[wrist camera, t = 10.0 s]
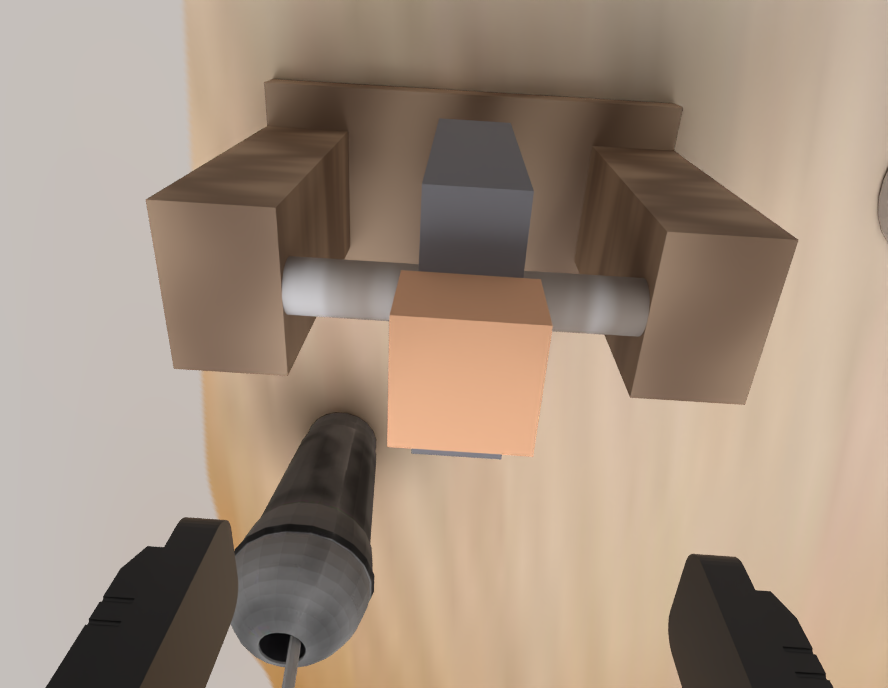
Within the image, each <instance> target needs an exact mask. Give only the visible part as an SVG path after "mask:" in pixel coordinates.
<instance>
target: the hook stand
mask: <svg viewBox="0 0 888 688" xmlns="http://www.w3.org/2000/svg"><path fill="white" fill-rule="evenodd" d="M264 85H265V99H266V113H267V127H265V128H263V129H262V130H260V131H258V132H257V133H255V134H253V135H252V136H250V137H248V138H247V139H245V140H243V141H242V142H240V143H238V144H237V145H235V146H234V147H232V148H230V149H229V150H227V151H225V152H224V153H222V154H220V155H219V156H217V157H215V158H214V159H212V160H210V161H209V162H207V163H205V164H204V165H202V166H200V167H199V168H197V169H196V170H194V171H192V172H191V173H189V174H187V175H186V176H184V177H183V178H181V179H179V180H177V181H176V182H174V183H172V184H171V185H169V186H167V187H166V188H164V189H162V190H161V191H159V192H157V193H156V194H154V195H153V196H151V197H149V198H148V199H146V204H147V210H148V216H149V222H150V228H151V234H152V240H153V246H154V252H155V258H156V264H157V270H158V276H159V283H160V289H161V295H162V301H163V307H164V313H165V318H166V325H167V331H168V336H169V342H170V349H171V355H172V360H173V366H174V369H187V370H203V371H219V372H235V373H250V374H266V375H282V376H288V374H289V372H290V370H291V368H292V366H293V364H294V362H295V360H296V358H297V356H298V354H299V351H300V349H301V347H302V345H303V343H304V341H305V339H306V337H307V335H308V333H309V331H310V329H311V327H312V325H313V323H314V321H315V319H316V317H332V318H348V319H364V320H380V321H389V316H390V311H391V307H392V303H393V300H394V296H395V292H396V288H397V284H398V280H399V276H400V272H401V270H407V271H419V246H420V221H421V196H422V182H423V178H424V174H425V170H426V167H427V163H428V159H429V155H430V151H431V148H432V144H433V140H434V136H435V132H436V129H437V125H438V121H439V118H441V119H457V120H472V121H488V122H504V123H511V125H512V128H513V131H514V134H515V137H516V140H517V143H518V146H519V149H520V152H521V155H522V157H523V160H524V163H525V166H526V169H527V172H528V175H529V178H530V181H531V184H532V187H533V190H534V195H533V203H532V211H531V219H530V228H529V236H528V244H527V252H526V260H525V268H524V277H523V278H530V279H541V282H542V286H543V290H544V294H545V297H546V301H547V305H548V309H549V313H550V317H551V321H552V325H553V328H552V331H556V332H572V333H588V334H604V335H605V337H606V340H607V342H608V344H609V347H610V349H611V352H612V354H613V357H614V359H615V362H616V364H617V366H618V369H619V371H620V374H621V376H622V379H623V381H624V383H625V386H626V388H627V391H628V393H629V396H630V398H646V399H662V400H678V401H694V402H709V403H725V404H741V405H745V403H746V400H747V397H748V394H749V391H750V388H751V384H752V381H753V378H754V375H755V372H756V369H757V366H758V363H759V360H760V357H761V354H762V351H763V347H764V344H765V341H766V338H767V335H768V332H769V329H770V326H771V323H772V320H773V317H774V314H775V310H776V307H777V304H778V301H779V298H780V295H781V292H782V289H783V286H784V283H785V280H786V277H787V273H788V270H789V267H790V264H791V261H792V258H793V255H794V252H795V249H796V246H797V243H798V239H796V238H795V237H794V236H792V235H791V234H789V233H788V232H787V231H785V230H784V229H782V228H781V227H780V226H778V225H777V224H775V223H774V222H773V221H771V220H770V219H768V218H767V217H766V216H764V215H763V214H761V213H760V212H759V211H757V210H756V209H754V208H753V207H752V206H750V205H749V204H747V203H746V202H745V201H743V200H742V199H740V198H739V197H738V196H736V195H735V194H733V193H732V192H731V191H729V190H728V189H726V188H725V187H724V186H722V185H721V184H720V183H718V182H717V181H715V180H714V179H713V178H711V177H710V176H708V175H707V174H706V173H704V172H703V171H701V170H700V169H699V168H697V167H696V166H694V165H693V164H692V163H690V162H689V161H687V160H686V159H685V158H683V157H682V156H680V155H679V154H678V153H676V152H675V151H674V147H675V143H676V138H677V134H678V129H679V124H680V120H681V115H682V110H683V108H682V107H680V106H678V105H676V104H674V103H657V102H641V101H625V100H608V99H592V98H575V97H559V96H542V95H526V94H509V93H493V92H476V91H460V90H443V89H427V88H410V87H394V86H377V85H361V84H344V83H328V82H311V81H295V80H279V79H272V80H269V81H267V82H264Z"/></svg>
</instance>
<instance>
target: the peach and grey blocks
mask: <svg viewBox="0 0 888 688" xmlns="http://www.w3.org/2000/svg"><path fill="white" fill-rule="evenodd" d="M533 195H534V190H533V187H532V184H531V181H530V178H529V175H528V172H527V169H526V166H525V163H524V160H523V157H522V155H521V152H520V149H519V146H518V143H517V140H516V137H515V134H514V131H513V128H512V125H511V123H504V122H488V121H472V120H457V119H441V118H439V121H438V125H437V129H436V132H435V136H434V140H433V144H432V148H431V151H430V155H429V159H428V163H427V167H426V170H425V174H424V178H423V182H422V196H421V221H420V246H419V271H407V270H401V272H400V276H399V280H398V284H397V288H396V292H395V296H394V300H393V303H392V307H391V311H390V316H389V373H388V430H387V447H396V448H411V453H413V454H428V455H443V456H458V457H473V458H488V459H501V457H502V455H516V456H531V457H533V454H534V447H535V440H536V434H537V427H538V420H539V414H540V407H541V401H542V394H543V387H544V381H545V374H546V368H547V361H548V354H549V348H550V341H551V335H552V328H553V325H552V321H551V317H550V313H549V309H548V305H547V301H546V297H545V294H544V290H543V286H542V282H541V279H530V278H523V277H524V268H525V260H526V252H527V244H528V236H529V228H530V219H531V211H532V203H533Z"/></svg>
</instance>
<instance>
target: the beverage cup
mask: <svg viewBox="0 0 888 688" xmlns="http://www.w3.org/2000/svg"><path fill="white" fill-rule="evenodd" d="M375 450H376V438H375V435H374V432H373V430H372V429H371V428H370V427H369V425H368V424H367V423H366V422H364V421H363V420H361V419H360V418H358V417H356V416H353V415H350V414H347V413H332V414H327V415H325V416H323V417H321V418H319V419H317V420H316V422H315V423H314V424H313V425H312V426H311V428H310V431H309V432H308V434H307V435H306V437H305V438H304V439H303V440H302V442H301V444H300V446H299V448H298V450H297V451H296V453H295V455H294V457H293V459H292V461H291V463H290V464H289V466H288V468H287V470H286V472H285V474H284V476H283V477H282V479H281V481H280V483H279V485H278V487H277V489H276V490H275V492H274V494H273V496H272V498H271V500H270V502H269V503H268V505H267V507H266V509H265V511H264V513H263V515H262V516H261V518H260V519H259V520H258V521H257V522H256V524H255V525H254V526H253V527H252V529H251V530H250V531H249V533H248V534H247V536H246V537H245V538H244V540H243V541H242V542H241V543H240V545H239V546H238V547H237V548H236V549H235V551H234V553H235V561H236V568H237V575H238V597H237V604H236V608H235V612H234V616H233V618H232V621H231V626H232V628H233V630H234V632H235V633H236V635H237V637H238V638H239V640H240V642H241V644H242V645H243V646H244V647H245V648H246V649H247V650H248V651H250V652H251V653H252V654H253V655H254V656H255V657H257V658H259V659H261V660H263V661H264V662H266V663H269V664H273V665H276V666H280V667H285V672H284V678H283V684H282V688H294V687H295V680H296V674H297V667H302V666H308V665H311V664H314V663H316V662H319V661H321V660H324V659H326V658H327V657H329V656H330V655H332V654H333V653H335V652H336V651H337V650H338V649H339V648H341V647H342V646H343V645H344V644H345V643H346V642H347V641H348V640H349V639H350V638H351V637H352V635H353V634H354V632H355V631H356V629H357V627H358V625H359V623H360V621H361V619H362V617H363V615H364V613H365V611H366V609H367V606H368V602H369V601H370V599H371V597H372V594H373V592H374V574H373V571H372V564H373V563H372V549H371V545H370V539H371V525H372V511H373V497H374V483H375V469H376V452H375Z"/></svg>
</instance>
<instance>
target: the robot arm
mask: <svg viewBox="0 0 888 688" xmlns="http://www.w3.org/2000/svg"><path fill="white" fill-rule="evenodd" d="M878 217H879V221H880V226H881V231H882V233H883V235H884V237H885V239H886V240H887V242H888V172H887V174H886V176H885V178H884V181H883V184H882V188H881V192H880V196H879V209H878ZM237 597H238V575H237V568H236V561H235V553H234V546H233V539H232V531H231V526H230V523H229V522H228V521H227V520H216V519H202V518H187V517H185V518H183V519H181V520H180V521H179V523H178V524H177V526H176V528H175V529H174V531H173V533H172V534H171V536H170V538H169V540H168V541H167V543H166V545H165V547H151V546H147V547H146V548H145V549H143V550H142V551H141V552H140V553H139V554H138V555H136V556H135V557H134V558H133V559H132V560H130V561H129V562H128V563H127V564H126V565H125V566H123V567H122V568H121V569H120V570H119V572H118V574H117V575H116V577H115V578H114V580H113V582H112V583H111V585H110V587H109V588H108V590H107V591H106V593H105V594H104V596H103V601H102V602H99V604H98V605H97V607H96V609H95V610H94V612H93V613H92V615H91V617H90V618H89V623H88V625H85V626H84V628H83V629H82V631H81V633H80V634H79V636H78V637H77V639H76V640H75V642H74V644H73V645H72V647H71V648H70V650H69V651H68V653H67V655H66V656H65V658H64V660H63V661H62V663H61V664H60V666H59V667H58V669H57V671H56V672H55V674H54V675H53V677H52V678H51V680H50V682H49V683H48V685H47V686H46V688H205V687H206V684H207V682H208V679H209V677H210V674H211V672H212V669H213V667H214V664H215V662H216V659H217V657H218V654H219V651H220V649H221V647H222V644H223V641H224V639H225V636H226V634H227V631H228V629H229V626H230V624H231V621H232V618H233V616H234V612H235V608H236V604H237ZM668 632H669V643H670V648H671V652H672V656H673V659H674V662H675V665H676V669H677V672H678V675H679V679H680V682H681V685H682V688H833V686H832V684H831V682H830V681H829V680H827V679H826V673H825V671H824V669H823V667H822V665H821V663H820V662H819V660H818V658H817V656H816V655H815V654H813V652H812V649H813V648H812V646H811V644H810V643H809V641H808V639H807V637H806V635H805V633H804V631H803V629H802V627H801V625H800V624H799V622H798V620H797V618H796V617H795V616H794V615H793V614H792V613H791V612H790V611H789V610H788V609H787V608H786V607H785V606H784V605H783V604H782V603H781V602H780V601H779V600H778V599H777V597H776V596H775V595H774V594H773V593H772V592H771V591H757V590H755V589H754V586H753V584H752V582H751V580H750V578H749V576H748V574H747V572H746V570H745V568H744V566H743V564H742V562H741V561H740V560H739V559H738V558H736V557H729V556H714V555H700V554H691V555H689V556H688V558H687V560H686V563H685V566H684V569H683V572H682V575H681V579H680V582H679V585H678V588H677V592H676V595H675V598H674V601H673V604H672V608H671V611H670V615H669V623H668Z"/></svg>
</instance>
